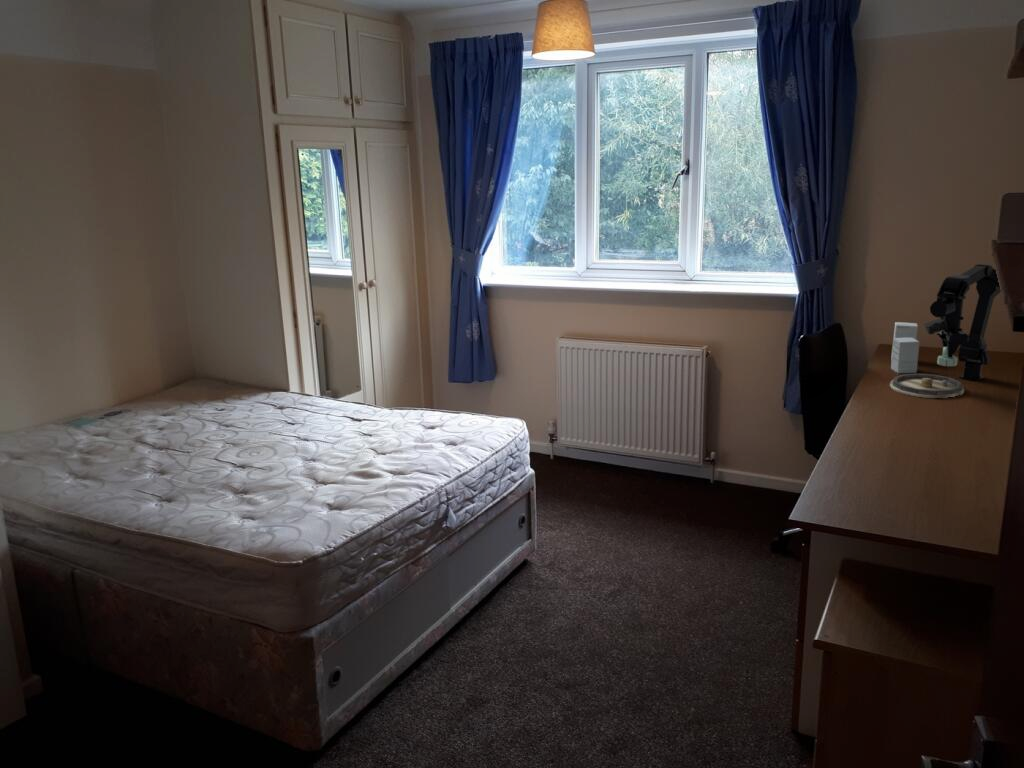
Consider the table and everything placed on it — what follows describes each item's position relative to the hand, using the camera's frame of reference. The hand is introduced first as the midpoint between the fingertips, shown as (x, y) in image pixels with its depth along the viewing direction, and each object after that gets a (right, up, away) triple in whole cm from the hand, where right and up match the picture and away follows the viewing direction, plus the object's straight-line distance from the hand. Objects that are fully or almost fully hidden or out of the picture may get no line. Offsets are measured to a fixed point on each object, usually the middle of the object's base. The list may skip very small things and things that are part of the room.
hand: (947, 355), depth 283 cm
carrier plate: (-5, -12, +5) cm, 14 cm away
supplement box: (-2, -5, +28) cm, 28 cm away
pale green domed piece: (0, -3, +1) cm, 3 cm away
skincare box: (+4, -1, +41) cm, 41 cm away
